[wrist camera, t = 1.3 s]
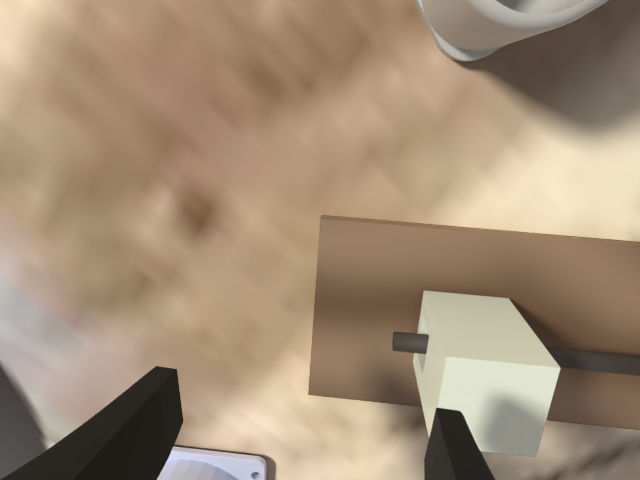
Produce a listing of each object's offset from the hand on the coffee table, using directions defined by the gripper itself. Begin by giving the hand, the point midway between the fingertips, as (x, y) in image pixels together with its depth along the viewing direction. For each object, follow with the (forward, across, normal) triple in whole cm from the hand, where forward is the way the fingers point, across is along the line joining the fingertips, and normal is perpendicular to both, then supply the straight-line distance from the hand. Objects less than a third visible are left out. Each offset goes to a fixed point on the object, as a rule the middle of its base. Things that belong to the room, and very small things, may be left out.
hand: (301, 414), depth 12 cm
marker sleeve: (+9, -6, +2) cm, 11 cm away
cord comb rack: (+9, -9, +2) cm, 13 cm away
